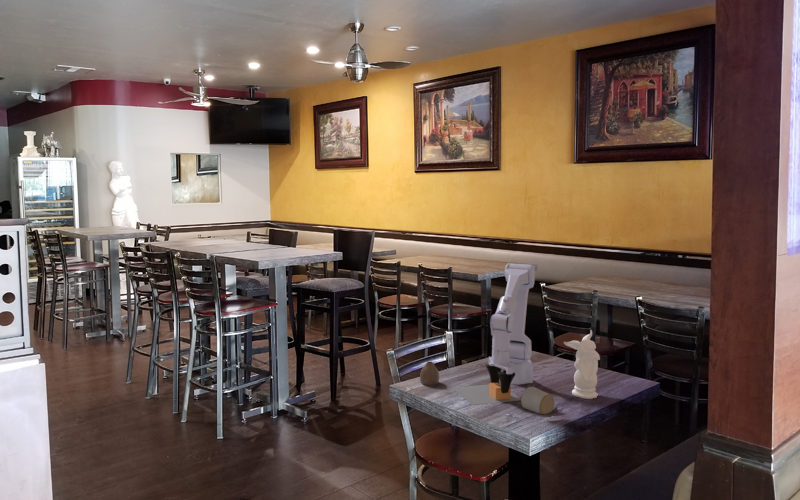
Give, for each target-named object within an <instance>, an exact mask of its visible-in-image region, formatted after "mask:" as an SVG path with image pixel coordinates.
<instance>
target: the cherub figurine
mask: <svg viewBox="0 0 800 500" xmlns="http://www.w3.org/2000/svg"><path fill="white" fill-rule="evenodd" d="M592 336H593V330H592V329H590V333H589V334H586V335H585V336H583V337H582V339H581V341H579V340H571V341H563V344H564V345H565V346H566V347H569V348H571V349H573V350H577V351H576V353H575V358H576V359H575V361H574V364H573V365H574V366H573V367H574V368H575V370H576V371H575V372H574V375H573V382H574V388H573V389H572V390H571V394H572V395H573V396H574V397H576V398H577V397H578V398H579V399H587V400H593V398H594V399H596V398H598V397H597V396H598V395H599V394H598V392H596V390H597V388H596V387H597V384H598V376H597V373H598V368H599V361H600V360H601V357H600V354H599V353H598V352H597V351H596V349H597V345H596V343H595V341H593V340H591V338H592Z"/></svg>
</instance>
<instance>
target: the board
mask: <svg viewBox="0 0 800 500" xmlns="http://www.w3.org/2000/svg"><path fill="white" fill-rule="evenodd" d="M452 389H453V390H454V391H455V392H457V393H458V394H459V396H461V397H462V398H464V399H465V401H467V402H468V403H469V404H470V405H472V406H475V405H476V406H477V405H485V404H494V403H495V404H497V403H506V402H507V403H509V402H516V401H517V402H518V401H521V399H522V397H521V398H520V396H518V395H516V394H515V393H513V392H512V391H511V399H501V400H495V399H494V398H492V397H491V396H490V395H489V384H480V385H479V384H478V385H469V386H468V385H466V386H456V387H452Z"/></svg>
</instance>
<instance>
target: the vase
mask: <svg viewBox="0 0 800 500" xmlns="http://www.w3.org/2000/svg"><path fill="white" fill-rule="evenodd" d="M419 380H420V383H421V384H422V385H424V386H431V387H432V386H437V385H438V384H439V382H440V372H439V370H438V368H437V366H436V365H435V364H434V362H433V361H427V362H426V363H425V364H424V366H422V368H421V370H420V373H419Z"/></svg>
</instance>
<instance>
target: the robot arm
mask: <svg viewBox="0 0 800 500" xmlns="http://www.w3.org/2000/svg"><path fill="white" fill-rule="evenodd" d="M504 277H505V281H506V282H507V283H506V287H505V292H504V295H503V296H501V297H500V299H499V302H498V304H497V308H496V311H495V313H494V314H492V315H491V318H490V320H489V322H490V323H489V324H490V326H489V327H490V335H491V336H492V338H491V341H492V343H491V344H492V345H491V348H492V349H491V356H488V364H486V365H485V367H486V370H487V372H488V375H489V378H490V383H498V382H500V384H501V392H502V393H508V391H509V388H510V387H511V385H518V386H519V385H525V384H531V383H534V364H533V361H532V360H531V357H532V340H531V339H530V337H528V336H527V335H526V333H525V330H526V320H527V319H526V317H527V308H528V307H527V306H528V297H529V291H530V289H533V288H534V285H535V280H536V268H535V266H534V264H527V263H525V264H524V263H513V262H508V263H507V264H506V265H505V267H504Z"/></svg>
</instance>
